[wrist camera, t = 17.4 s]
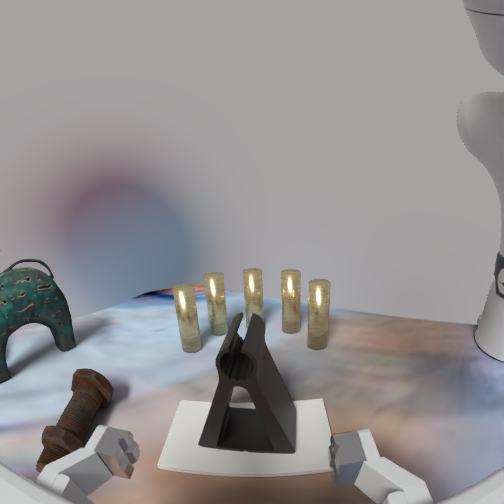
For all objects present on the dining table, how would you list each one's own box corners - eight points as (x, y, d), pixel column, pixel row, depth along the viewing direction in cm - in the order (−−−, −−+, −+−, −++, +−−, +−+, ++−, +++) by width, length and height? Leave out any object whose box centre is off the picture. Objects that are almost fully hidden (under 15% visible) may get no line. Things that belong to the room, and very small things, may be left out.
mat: (322, 402, 28) (322, 398, 28) (338, 470, 18) (339, 467, 18) (181, 403, 29) (180, 400, 29) (159, 468, 19) (157, 465, 19)
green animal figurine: (-9, 392, 23) (-55, 259, 19) (-16, 374, 26) (-53, 255, 22) (84, 347, 40) (57, 229, 35) (69, 336, 43) (45, 229, 39)
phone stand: (296, 412, 26) (300, 312, 24) (295, 454, 21) (301, 349, 18) (213, 407, 28) (198, 310, 25) (198, 446, 22) (173, 344, 19)
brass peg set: (317, 319, 49) (318, 265, 47) (328, 348, 39) (332, 285, 37) (194, 323, 50) (187, 270, 48) (180, 352, 40) (170, 291, 38)
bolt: (62, 495, 14) (99, 405, 28) (87, 495, 14) (123, 394, 28) (15, 459, 13) (67, 373, 27) (33, 456, 12) (89, 360, 27)
